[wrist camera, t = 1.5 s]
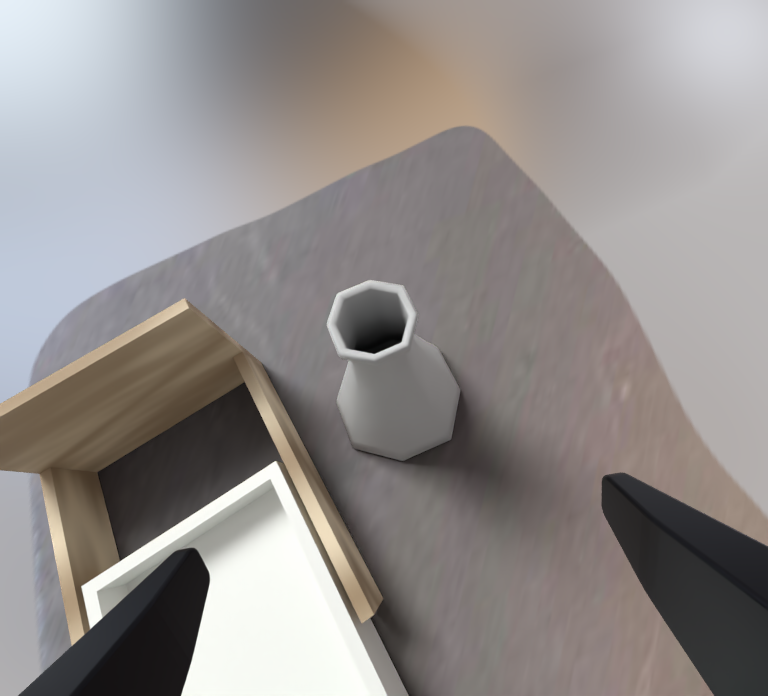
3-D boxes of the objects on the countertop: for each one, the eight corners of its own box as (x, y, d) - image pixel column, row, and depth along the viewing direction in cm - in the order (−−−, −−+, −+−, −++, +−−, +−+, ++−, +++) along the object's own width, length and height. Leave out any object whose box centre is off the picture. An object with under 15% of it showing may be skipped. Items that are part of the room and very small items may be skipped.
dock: (383, 598, 18) (348, 659, 11) (157, 761, 17) (-57, 955, 10) (261, 362, 24) (184, 298, 17) (85, 469, 23) (-81, 450, 15)
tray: (452, 784, 15) (460, 903, 11) (228, 964, 14) (127, 1185, 9) (295, 466, 21) (256, 454, 16) (127, 576, 20) (34, 596, 15)
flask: (338, 467, 21) (263, 434, 12) (336, 347, 24) (275, 247, 15) (470, 455, 20) (499, 412, 11) (451, 334, 23) (462, 221, 14)
